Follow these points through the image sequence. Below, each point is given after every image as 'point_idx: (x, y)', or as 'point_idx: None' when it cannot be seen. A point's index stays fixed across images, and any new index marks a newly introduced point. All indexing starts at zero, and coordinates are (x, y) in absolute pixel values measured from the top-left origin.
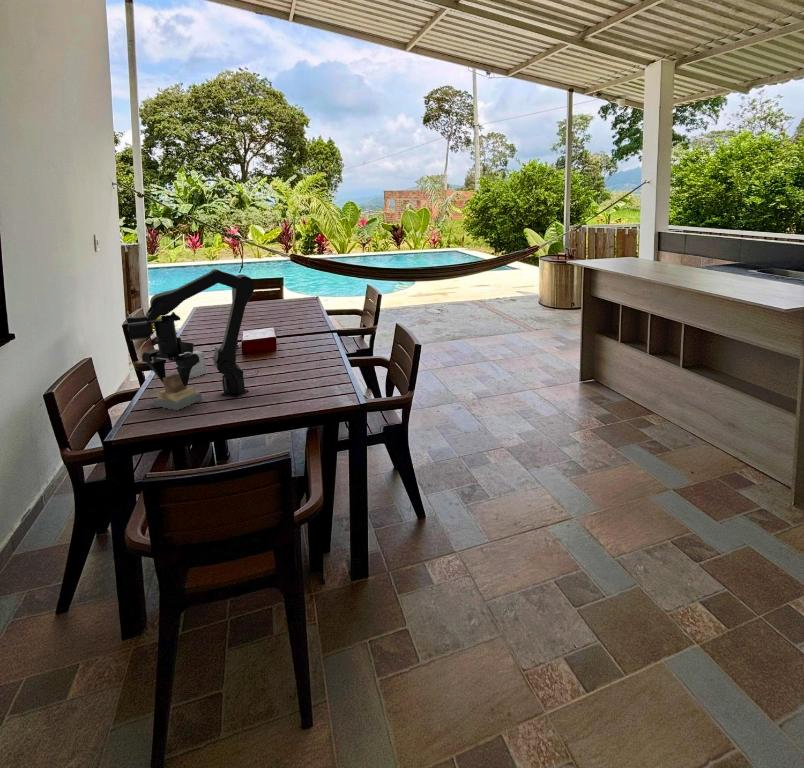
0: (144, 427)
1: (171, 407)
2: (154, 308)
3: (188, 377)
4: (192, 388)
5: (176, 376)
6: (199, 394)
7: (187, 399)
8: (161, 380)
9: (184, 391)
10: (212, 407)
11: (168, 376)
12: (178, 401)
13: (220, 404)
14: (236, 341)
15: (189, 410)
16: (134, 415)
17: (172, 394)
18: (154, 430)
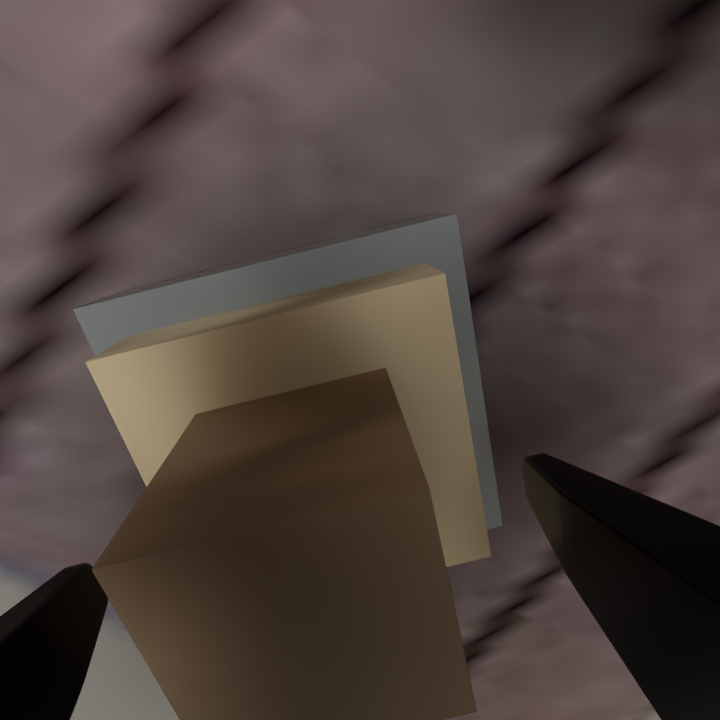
0: (534, 697)
1: None
2: None
3: (674, 521)
4: (451, 317)
5: (359, 620)
6: (456, 234)
7: (480, 403)
8: (77, 653)
9: (463, 440)
10: (692, 274)
11: (211, 698)
12: (483, 497)
13: (712, 176)
14: None
15: (557, 425)
16: None
17: None
18: (626, 683)
